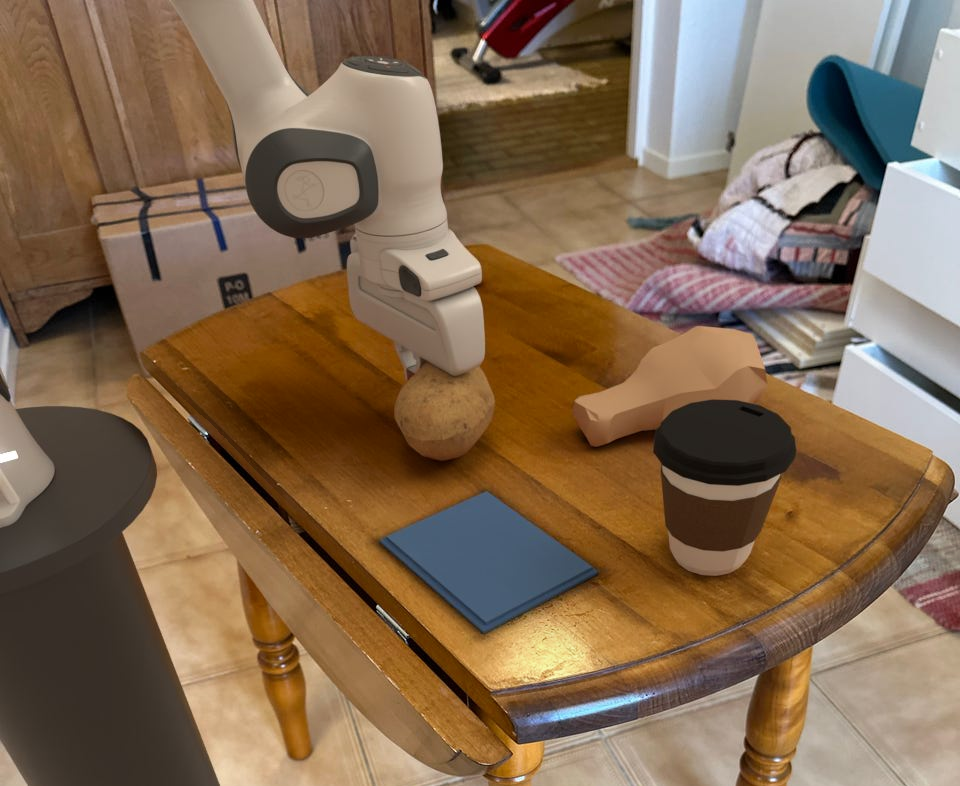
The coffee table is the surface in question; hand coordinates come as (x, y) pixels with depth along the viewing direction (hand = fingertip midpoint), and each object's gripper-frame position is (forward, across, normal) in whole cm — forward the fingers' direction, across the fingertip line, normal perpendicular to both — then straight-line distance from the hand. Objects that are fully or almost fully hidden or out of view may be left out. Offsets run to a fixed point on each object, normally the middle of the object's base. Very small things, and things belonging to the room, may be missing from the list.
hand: (419, 383), depth 99 cm
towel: (+3, +26, -11) cm, 28 cm away
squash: (+4, +20, +18) cm, 27 cm away
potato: (+3, +8, -2) cm, 9 cm away
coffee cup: (+4, +38, +4) cm, 38 cm away
